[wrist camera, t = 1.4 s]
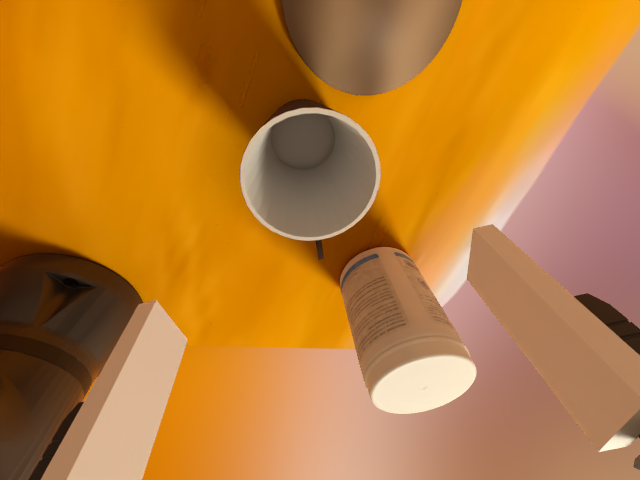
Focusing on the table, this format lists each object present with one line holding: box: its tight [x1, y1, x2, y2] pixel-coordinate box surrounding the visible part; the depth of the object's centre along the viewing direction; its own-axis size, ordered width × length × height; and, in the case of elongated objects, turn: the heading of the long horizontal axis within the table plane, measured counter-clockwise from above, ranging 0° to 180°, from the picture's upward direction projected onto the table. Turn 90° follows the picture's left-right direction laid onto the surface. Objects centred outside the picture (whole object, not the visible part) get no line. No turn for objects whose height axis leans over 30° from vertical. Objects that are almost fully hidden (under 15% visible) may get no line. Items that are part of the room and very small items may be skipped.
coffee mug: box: [240, 99, 381, 260], centre depth 23 cm, size 12×9×10 cm
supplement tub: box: [340, 247, 476, 414], centre depth 30 cm, size 10×10×15 cm
